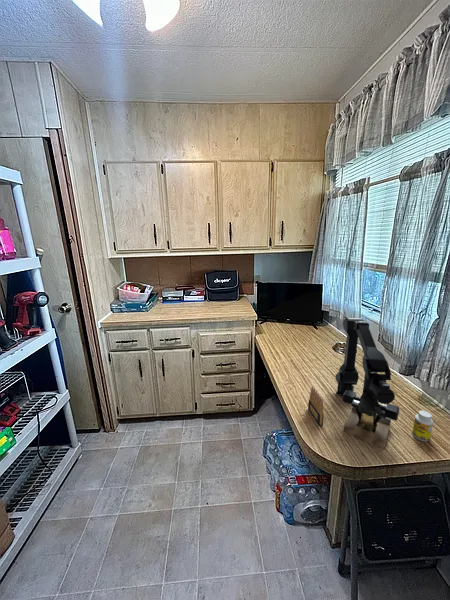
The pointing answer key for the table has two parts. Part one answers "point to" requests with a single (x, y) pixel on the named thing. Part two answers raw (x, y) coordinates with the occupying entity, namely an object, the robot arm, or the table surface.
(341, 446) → the table surface
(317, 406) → the tan upright panel
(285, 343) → the table surface
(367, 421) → the cylinder
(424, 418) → the supplement bottle
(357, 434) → the jig
